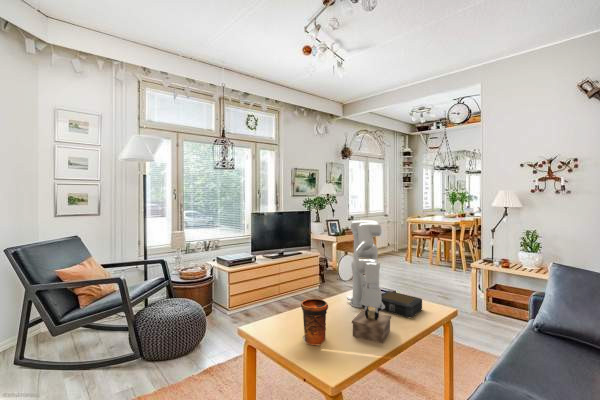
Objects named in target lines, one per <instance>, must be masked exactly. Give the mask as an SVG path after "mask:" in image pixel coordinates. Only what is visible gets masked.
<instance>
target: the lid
mask: <svg viewBox="0 0 600 400" xmlns="http://www.w3.org/2000/svg"><path fill="white" fill-rule="evenodd" d="M375 312H376V309H369V310H368V318H366V316H365V310H364V309H363V310H360V311H359V312H358V313H357V314H356V316H355V317H353V319H352V320H351V324H352V325H353V324H357V325H362V326H366V327H371V328H376V329H380V330H384V329H385V327H386V326H387V324H388V322H389V321H390V322H391V319H392V315H387V314H383V313H379V318H378V319H377V320H375Z"/></svg>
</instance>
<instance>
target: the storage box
mask: <svg viewBox="0 0 600 400" xmlns="http://www.w3.org/2000/svg"><path fill="white" fill-rule="evenodd" d="M390 332H391V320H390V321H389V322H388V324H387V326H386V327H385V329H384V330H380V329H376V328H371V327H366V326H362V325H357V324H353V323H352V336H353V337H355V338H360V339H363V340H364V339H365V340H367V341H372V342H376V343H380V344H384V342H385V340H386V338H388V337H387V336H388V335H389V333H390Z"/></svg>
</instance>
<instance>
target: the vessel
mask: <svg viewBox="0 0 600 400" xmlns="http://www.w3.org/2000/svg"><path fill="white" fill-rule="evenodd" d="M300 307H301V309H302V315H303V316H302V317H303V318H302V319H303V332H304V335H303V337H302V340H303V342H305V343H304V344H306V345H312V346H318V347H319V346H320V347H321V345H322V344H323V342H324V341H325V340H326V330H327V327H326V326H327V323H326V322H327V321H326V320H327V319H326V318H327V317H326V316H327V313H328V312H327V311H328V309H329V305H328V302H326V301H325V300H323V299H320V298H309V299H305V300H303V301H301V303H300Z"/></svg>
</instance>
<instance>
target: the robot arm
mask: <svg viewBox="0 0 600 400" xmlns="http://www.w3.org/2000/svg"><path fill="white" fill-rule="evenodd" d="M350 230H351V233H352V235H353V260H352V261H351V266H350V267H351V273H352V296H349V295H348V296H346V299H347V301H350V306H352V307H354V308H358V309H362V308H363V311H365V316H366V318H368V310H370V309H369V308H370V307H371V308H373V309H374V308H375V309H374V310H375V311H376V312H375V320H377V319H378V318H379V314H380V313H379V312H381V311H383V310H382V309H384V308H385V305H384V304H383V302H382V296H381V294H382V291H381V287H380V268H381V265H380V264H381V263H380V261H379V260H378V253H379V252H378V247H377V245H376V244H375V243H374V237H380V236H381V235H382V226H381V225H380V223H379V222H378V221H376V220H354V221H352V222H351V223H350ZM380 306H382V307H380ZM379 307H380V308H379Z"/></svg>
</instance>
